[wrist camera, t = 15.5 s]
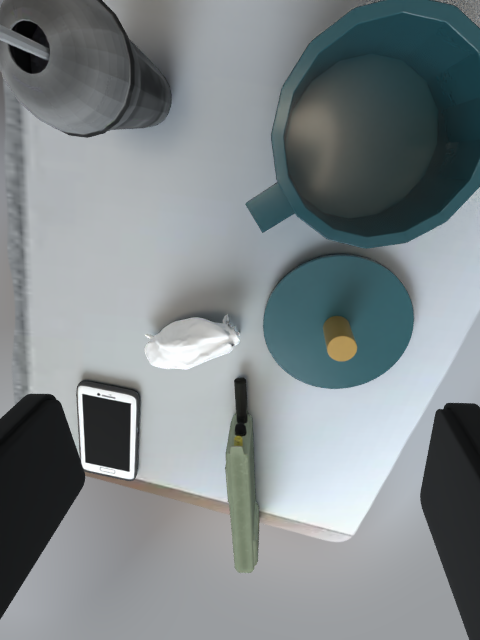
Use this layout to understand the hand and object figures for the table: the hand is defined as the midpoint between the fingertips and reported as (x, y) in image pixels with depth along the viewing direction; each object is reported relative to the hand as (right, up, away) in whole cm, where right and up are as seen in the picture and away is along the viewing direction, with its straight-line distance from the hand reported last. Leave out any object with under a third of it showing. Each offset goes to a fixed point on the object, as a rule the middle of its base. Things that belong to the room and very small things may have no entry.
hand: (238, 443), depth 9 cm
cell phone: (-17, -11, +38) cm, 43 cm away
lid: (+10, +3, +28) cm, 29 cm away
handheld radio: (+1, -14, +37) cm, 40 cm away
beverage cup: (-8, +22, +22) cm, 33 cm away
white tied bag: (-5, +1, +31) cm, 32 cm away
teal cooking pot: (+10, +18, +21) cm, 30 cm away
